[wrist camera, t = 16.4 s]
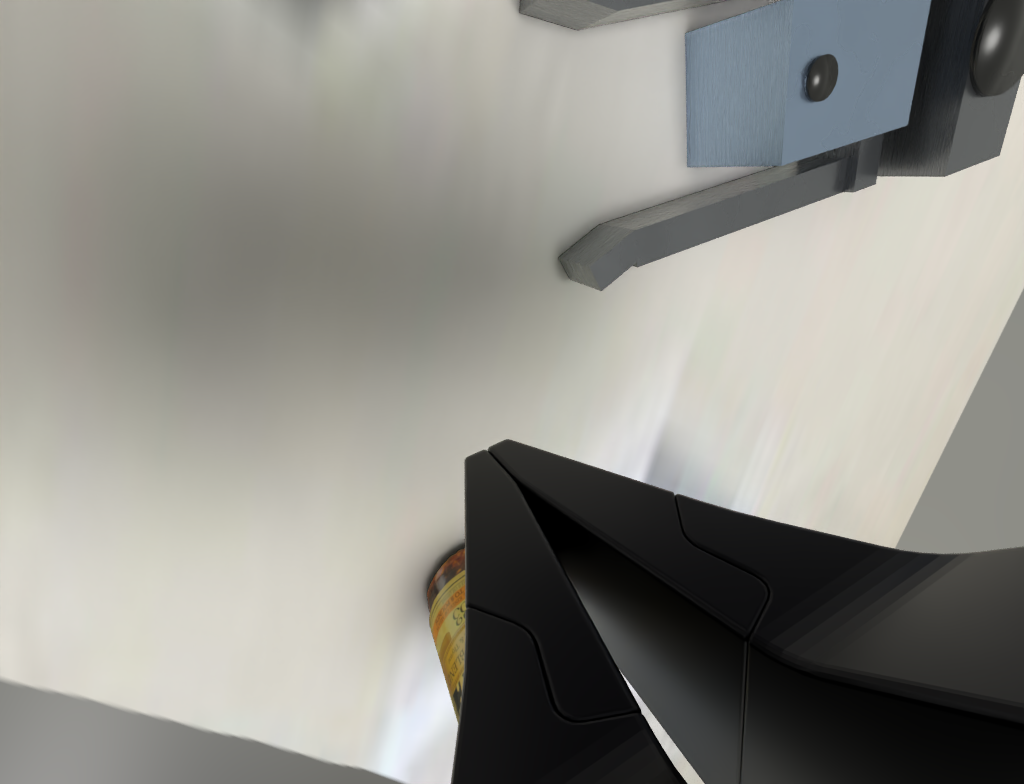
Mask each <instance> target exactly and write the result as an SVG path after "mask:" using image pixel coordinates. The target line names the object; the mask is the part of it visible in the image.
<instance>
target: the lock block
mask: <svg viewBox="0 0 1024 784" xmlns="http://www.w3.org/2000/svg"><path fill="white" fill-rule="evenodd" d="M930 4H931V0H781V1H778V2H775V3H772V4H769V5H766V6H763V7H761V8H758V9H755V10H752V11H749V12H746V13H743V14H740V15H737V16H734V17H731V18H728V19H726V20H723V21H720V22H717V23H714V24H711V25H708V26H705V27H702V28H699V29H696V30H694V31H691V32H688V33H685V47H686V107H687V167H733V166H783V165H786V164H789V163H792V162H795V161H798V160H801V159H804V158H808V157H811V156H814V155H817V154H820V153H823V152H826V151H829V150H832V149H836V148H839V147H842V146H845V145H848V144H851V143H854V142H857V141H860V140H863V139H867V138H870V137H873V136H876V135H879V134H882V133H885V132H888V131H891V130H895V129H898V128H901V127H904V126H907V125H908V121H909V115H910V110H911V105H912V100H913V94H914V89H915V84H916V78H917V73H918V68H919V62H920V57H921V52H922V46H923V41H924V36H925V30H926V25H927V20H928V15H929V9H930Z"/></svg>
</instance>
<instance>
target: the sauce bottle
mask: <svg viewBox="0 0 1024 784" xmlns="http://www.w3.org/2000/svg"><path fill="white" fill-rule="evenodd" d="M427 597H428V604H429V612H430V617H429V623H430V628H431V632H432V635H433V639H434V642H435V646H436V649H437V652H438V656H439V659H440V663H441V666H442V669H443V673H444V676H445V680H446V683H447V687H448V690H449V694H450V697H451V700H452V704H453V707H454V711H455V714H456V718H457V721H458V724H459V717H460V707H461V696H462V686H463V676H464V654H465V611H466V607H465V548H464V549H460V550H458V551H457V553H456V554H453V555H451V556H450V557H449V558H448V559H447V561H446V562H445V563H444V564H443V565H442V566H441V567H440V569H439V570H438V571H437V573H436V575H435V576H434V578H433V581H432V582H431V583H430V586H429V589H428V592H427Z"/></svg>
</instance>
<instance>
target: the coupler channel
mask: <svg viewBox="0 0 1024 784" xmlns="http://www.w3.org/2000/svg"><path fill="white" fill-rule="evenodd" d="M723 1H728V0H521V2H520V12H519V13H523V14H526V15H529V16H532V17H536V18H539V19H542V20H545V21H549V22H552V23H555V24H559V25H562V26H565V27H568V28H572V29H575V30H581V29H586V28H591V27H596V26H601V25H606V24H611V23H617V22H622V21H627V20H632V19H637V18H642V17H647V16H652V15H657V14H662V13H667V12H672V11H677V10H682V9H688V8H693V7H698V6H703V5H708V4H713V3H718V2H723ZM1023 74H1024V0H931V4H930V9H929V15H928V20H927V25H926V30H925V36H924V41H923V46H922V52H921V57H920V62H919V68H918V73H917V78H916V84H915V89H914V94H913V100H912V105H911V110H910V115H909V121H908V125H907V126H904V127H901V128H898V129H895V130H891V131H888V132H885V133H882V134H879V135H876V136H873V137H870V138H867V139H863V140H860V141H857V142H854V143H851V144H848V145H845V146H842V147H839V148H836V149H832V150H829V151H826V152H823V153H820V154H817V155H814V156H811V157H808V158H804V159H801V160H798V161H795V162H792V163H789V164H786V165H783V166H776V167H773V168H770V169H767V170H764V171H761V172H758V173H755V174H752V175H749V176H746V177H743V178H740V179H737V180H733V181H730V182H727V183H724V184H721V185H718V186H715V187H712V188H709V189H706V190H703V191H700V192H697V193H694V194H691V195H688V196H685V197H682V198H679V199H676V200H673V201H670V202H667V203H663V204H660V205H657V206H654V207H651V208H648V209H645V210H642V211H639V212H636V213H633V214H630V215H627V216H624V217H621V218H618V219H615V220H612V221H609V222H606V223H603V224H599V225H598V226H597V227H596V228H594V229H593V230H592V231H591V232H589V233H588V234H587V235H586V236H585V237H583V238H582V239H581V240H580V241H578V242H577V243H576V244H575V245H573V246H572V247H571V248H570V249H568V250H567V251H566V252H565V253H564V254H562V255H561V256H560V257H559V259H560V261H561V263H562V265H563V267H564V269H565V271H566V272H567V274H568V276H569V278H570V280H573V281H576V282H578V283H581V284H584V285H586V286H589V287H592V288H595V289H597V290H600V291H602V290H603V289H605V288H606V287H607V286H608V285H610V284H611V283H612V282H613V281H614V280H616V279H617V278H618V277H619V276H620V275H622V274H623V273H624V272H625V271H626V270H628V269H629V268H630V267H631V266H635V267H639V266H642V265H645V264H648V263H650V262H653V261H656V260H659V259H661V258H664V257H667V256H669V255H672V254H675V253H678V252H680V251H683V250H686V249H689V248H691V247H694V246H697V245H699V244H702V243H705V242H708V241H710V240H713V239H716V238H719V237H721V236H724V235H727V234H730V233H732V232H735V231H738V230H740V229H743V228H746V227H749V226H751V225H754V224H757V223H760V222H762V221H765V220H768V219H771V218H773V217H776V216H779V215H781V214H784V213H787V212H790V211H792V210H795V209H798V208H801V207H803V206H806V205H809V204H811V203H814V202H817V201H820V200H822V199H825V198H828V197H831V196H833V195H836V194H839V193H842V192H856V191H858V190H861V189H864V188H867V187H869V186H872V185H875V184H876V179H877V176H929V177H945V176H948V175H950V174H953V173H955V172H958V171H960V170H963V169H966V168H968V167H971V166H973V165H976V164H979V163H981V162H984V161H986V160H989V159H992V158H994V157H997V156H999V155H1000V152H1001V148H1002V145H1003V141H1004V137H1005V134H1006V130H1007V127H1008V123H1009V119H1010V116H1011V112H1012V109H1013V105H1014V101H1015V98H1016V94H1017V91H1018V87H1019V83H1020V80H1021V77H1022V75H1023Z"/></svg>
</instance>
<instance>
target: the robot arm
mask: <svg viewBox="0 0 1024 784" xmlns="http://www.w3.org/2000/svg"><path fill="white" fill-rule="evenodd" d="M465 607H466V611H465V654H464V676H463V686H462V696H461V707H460V717H459V724H458V732H457V740H456V748H455V755H454V763H453V771H452V778H451V784H687V782H686V781H685V780H684V778H683V777H682V776H681V775H680V773H679V772H678V771H677V769H676V768H675V767H674V765H673V763H672V762H671V760H670V759H669V757H668V756H667V754H666V752H665V751H664V749H663V748H662V746H661V744H660V743H659V741H658V739H657V738H656V736H655V734H654V733H653V731H652V729H651V727H650V726H649V724H648V722H647V720H646V718H645V717H644V715H642V713H641V709H640V707H639V705H638V703H637V702H636V700H635V698H634V696H633V694H632V692H631V691H630V689H629V687H628V685H627V683H626V681H625V680H624V678H623V676H622V674H621V672H622V673H623V675H624V676H625V677H626V679H627V680H628V681H629V683H630V684H631V685H632V687H633V688H634V689H635V691H636V692H637V694H638V695H639V696H640V698H641V699H642V700H643V702H644V703H645V704H646V706H647V707H648V708H649V710H650V711H651V712H652V714H653V715H654V716H655V718H656V719H657V720H658V722H659V723H660V724H661V726H662V727H663V728H664V730H665V731H666V732H667V734H668V735H669V736H670V738H671V739H672V740H673V742H674V743H675V744H676V746H677V747H678V748H679V750H680V751H681V752H682V754H683V755H684V756H685V758H686V759H687V761H688V762H689V763H690V765H691V766H692V767H693V769H694V770H695V771H696V773H697V774H698V775H699V777H700V778H701V779H702V781H703V782H704V783H705V784H1024V546H1023V547H1015V548H1007V549H998V550H990V551H982V552H972V553H960V554H936V553H919V552H913V551H904V550H899V549H894V548H889V547H884V546H879V545H875V544H871V543H866V542H862V541H858V540H853V539H849V538H845V537H840V536H836V535H832V534H828V533H823V532H819V531H815V530H810V529H806V528H802V527H797V526H793V525H789V524H784V523H780V522H776V521H772V520H768V519H764V518H760V517H756V516H752V515H748V514H744V513H740V512H736V511H733V510H730V509H726V508H723V507H720V506H716V505H713V504H709V503H706V502H703V501H699V500H696V499H693V498H690V497H687V496H684V495H681V494H676V495H674V493H673V492H671V491H668V490H665V489H662V488H659V487H656V486H652V485H649V484H646V483H643V482H640V481H637V480H634V479H631V478H628V477H625V476H621V475H618V474H615V473H612V472H609V471H606V470H603V469H600V468H597V467H594V466H590V465H587V464H584V463H581V462H578V461H575V460H572V459H569V458H566V457H563V456H559V455H556V454H553V453H550V452H547V451H544V450H541V449H538V448H535V447H532V446H528V445H525V444H522V443H519V442H516V441H513V440H509V439H506V440H504V441H501V442H499V443H497V444H495V445H493V446H491V447H489V448H488V451H487V450H482V451H480V452H477V453H475V454H473V455H471V456H469V457H467V458H466V459H465ZM618 668H619V669H620V671H621V672H620V671H619V669H618Z"/></svg>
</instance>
